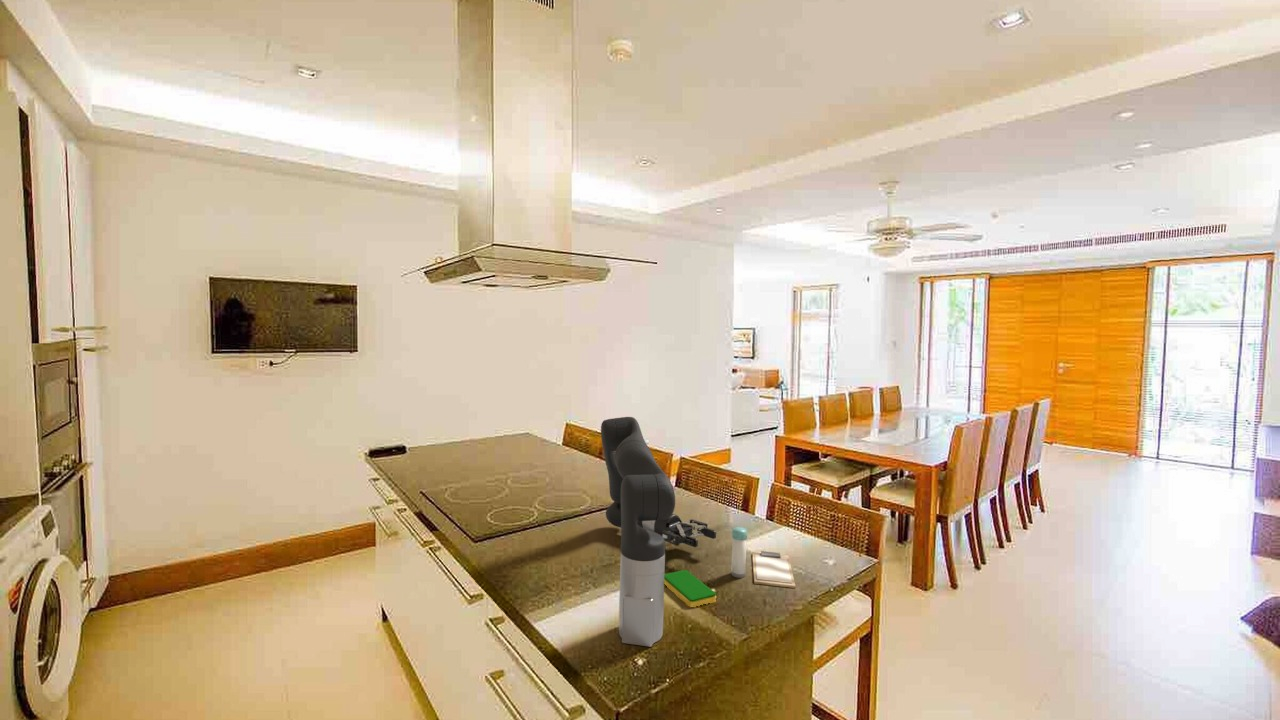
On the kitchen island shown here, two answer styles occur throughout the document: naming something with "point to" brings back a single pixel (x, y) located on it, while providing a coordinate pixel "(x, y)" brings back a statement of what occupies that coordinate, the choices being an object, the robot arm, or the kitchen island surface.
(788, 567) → the clipboard
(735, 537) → the bottle
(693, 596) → the dish sponge
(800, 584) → the kitchen island surface
